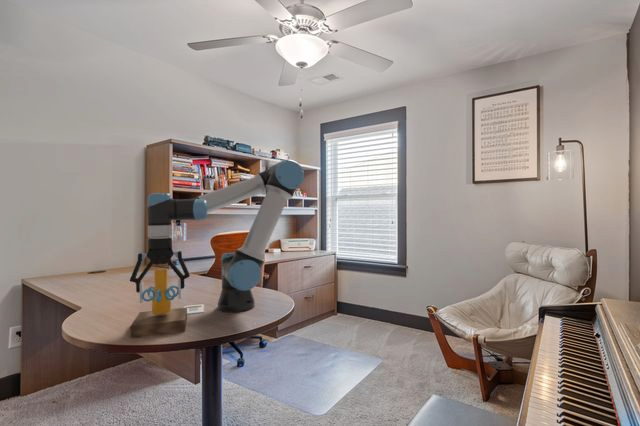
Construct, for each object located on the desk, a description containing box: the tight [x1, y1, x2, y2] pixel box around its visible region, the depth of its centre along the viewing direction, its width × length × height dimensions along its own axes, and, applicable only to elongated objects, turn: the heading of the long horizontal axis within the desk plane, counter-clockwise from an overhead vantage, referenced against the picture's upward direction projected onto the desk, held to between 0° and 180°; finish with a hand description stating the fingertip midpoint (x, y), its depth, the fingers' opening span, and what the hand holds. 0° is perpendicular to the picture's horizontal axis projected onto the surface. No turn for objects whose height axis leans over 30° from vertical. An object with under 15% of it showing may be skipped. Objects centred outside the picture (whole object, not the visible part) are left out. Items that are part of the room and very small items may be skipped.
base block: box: [130, 307, 188, 339], centre depth 116 cm, size 16×16×4 cm
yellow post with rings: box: [142, 267, 178, 314], centre depth 116 cm, size 12×10×15 cm
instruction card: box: [183, 303, 205, 315], centre depth 138 cm, size 8×12×1 cm, turn 19°
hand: (161, 299), depth 116 cm, fingers closed on yellow post with rings, 11 cm apart
